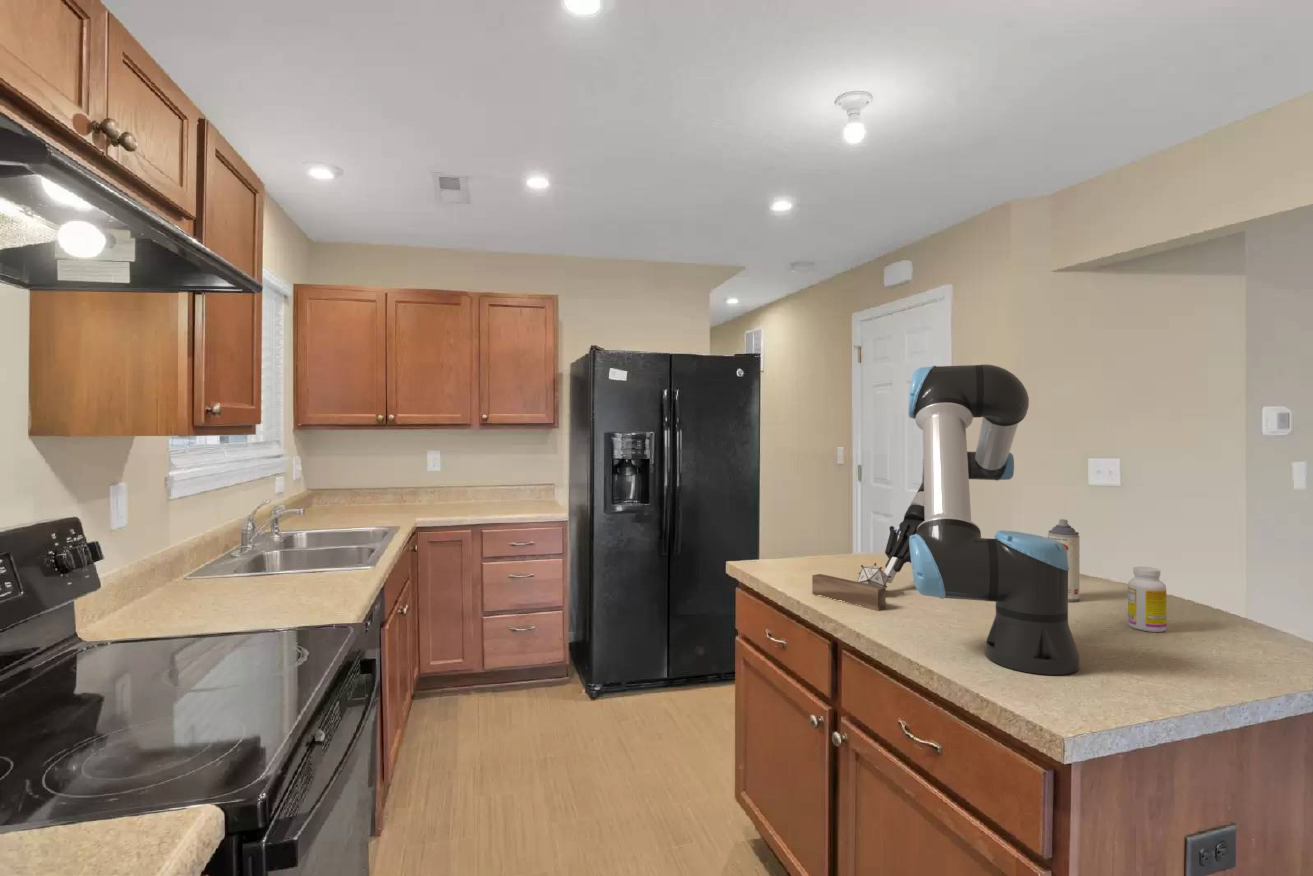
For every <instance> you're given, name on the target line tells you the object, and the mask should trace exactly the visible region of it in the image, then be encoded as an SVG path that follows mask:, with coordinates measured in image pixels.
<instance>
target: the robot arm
mask: <svg viewBox="0 0 1313 876" xmlns="http://www.w3.org/2000/svg"><path fill="white" fill-rule="evenodd" d="M910 382H911V384H910V389H909V390H910V391H909V400H908V417H909V418H910V419H914V420H915V424H916V426H917V427H918V428H919V429H920V430H922V446H923V447H922V448H923V449H922V450H923V451H922V453H923V455H922V457H923V458H922V480H921V484H920V486H919V488H918V490H917V492H916V494H915V495H914V497H913V498H912V500H911V502H910V505H909V506H908V508H907V510H906V512H905V513H904V515H903V519H902V521H901V522H900V523H899V524H898V525H897V526H893V525H891V526H889V536H888V539H887V543H886V546H885V550H884V553H885V555H886V556H887V558H888V559H887V561H886V563H885V570H884V571H883V572H884V573H885V574H886V575H887V576H892V577H891V578H888V580H887V583H888V584H892V583H893V581H894V579H895V577H896V575H897V573H900V572H901V570H902V568H903V567H904V565H905V564H906V563H910V564H911V572H912V577H913V582H914V586H915V589H916V591H917V592H918V593H919V594H920V595H922V596H925V597H926V596H927V597H933V598H939V599H943V600H944V599H954V600H955V599H956V600H969V601H980V602H981V601H982V602H983V601H985V602H995V616H994V619H993V622H992V624H991V627H990V630H989V632H988V635H987V637H986V641H985V645H984V646H985V647H984V648H985V649H984V650H985V652H984V654H985V656H986V658H987V659H988V660H990V661H991V662H993V663H995V664H996V665H999V666H1001V667H1002V666H1003V667H1005V668H1007V669H1012V670H1014V671H1019V672H1023V673H1024V672H1025V673H1030V674H1035V675H1036V674H1038V675H1048V676H1050V675H1051V676H1052V675H1053V676H1055V675H1056V676H1061V675H1069V674H1073V673H1077V672H1078V671H1079V670H1080V653H1079V650H1078V648H1077V645H1076V643H1075V642H1076V641H1075V639H1074V636H1073V634H1072V631H1071V629H1070V628H1071V627H1070V625H1069V602H1068V571H1069V566H1068V555H1067V549H1066V547H1065V546H1064V545H1063V544H1062V543H1060V542H1058V541H1056V540H1053V539H1050V538H1048V537H1045V536H1041V535H1037V534H1032V533H1025V532H1020V531H1015V530H1014V531H1012V530H1008V531H1007V530H998V531H996V533H995V534H994V538H988V537H987V538H986V537H985V538H984V537H982V534H981V533H982V531H981V528H980V527H979V526H978V524H976V523H975V522H973V521H972V512H971V511H972V509H971V493H970V492H971V491H970V480H981V481H983V480H984V481H985V480H986V481H997V482H998V481H1003V480H1004V481H1005V480H1006V481H1007V480H1010V479H1012V478H1013V477H1014V472H1015V459H1014V454H1013V453H1012V452H1010V451H1011V448H1012V445H1013V442H1014V438H1015V435H1016V432H1017V430H1018V429H1017V428H1018V426H1019V424H1020V423H1021V422H1022V421H1023V420H1024V419H1025V417H1026V415H1027V413H1028V409H1029V405H1030V403H1029V402H1030V398H1029V394H1028V391H1027V389H1026V388H1025V386H1024V384H1023V382H1022V381H1021V379H1019V378H1018V377H1017V376H1016V375H1015V374H1014V373H1012V372H1011V371H1009V370H1007V369H1006V368H1003V367H1001V366H998V365H993V364H973V365H972V364H968V365H944V366H943V365H941V366H940V365H939V366H937V365H932V366H925V367H924V366H923V367H918V368H917V369H915V370H914V372H913V374H912V378H911V381H910ZM974 418H982V421H981V426H980V428H979V429H980V430H979V434H978V440H977V446H976V450H975V451H968V447H967V446H968V445H967V442H968V441H967V429H968V428H969V427H970V426H971V425H972V423H973V420H974ZM887 583H886V584H887Z"/></svg>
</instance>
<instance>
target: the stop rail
mask: <svg viewBox="0 0 1313 876" xmlns="http://www.w3.org/2000/svg"><path fill="white" fill-rule="evenodd" d="M811 581H812V586H811V587H812V589H811V590H812V595H813V594H815V595H814V596H817V595H822V596H825V597H829V598H832V599H831V600H833V599H836V600H835V601H837V600H842V601H845V602H849V603H851V604H850V605H853V604H857V605H861V606H863V607H862V608H865V607H866V609H869V608H870V609H869V610H873V609H875V610H874V611H877V610H879V611H882V610H881V609H883V610H885V609H887V607H886V604H887V603H886V602H887V601H886V600H887V599H886V596H887V595H886V594H887V593H886V591H887V590H886V589H887V588H886V587H885V588H884V587H879V586H874V585H870V584H865V583H860V582H857V580H856V581H855V580H850V579H846V578H842V577H837V576H832V575H828V574H822V573H818V574H817V573H816V574H812V580H811ZM825 597H824V598H825ZM829 598H828V599H829ZM845 602H844V603H845ZM849 603H848V604H849ZM857 605H856V606H857ZM861 606H860V607H861Z"/></svg>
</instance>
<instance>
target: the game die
mask: <svg viewBox="0 0 1313 876" xmlns="http://www.w3.org/2000/svg"><path fill="white" fill-rule="evenodd" d="M860 567H861V570H860V572H858V575H859V576H858V578H857V580H856V582H860V583H865V584H870V585H874V586H879V587H884V588H886V589H887V588H888V586H887V580H888V578H891V577H892V576H887V575H886V574H885V573H884V571H883V567H882V566H880V567H878V566H877V563H876V562H875V563H874V565H869V566H868V565H867V566H864V565H863V564H860Z"/></svg>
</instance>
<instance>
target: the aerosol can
mask: <svg viewBox="0 0 1313 876" xmlns="http://www.w3.org/2000/svg"><path fill="white" fill-rule="evenodd" d="M1068 522H1069V521H1068V519H1063V518H1062V519H1059V522H1058V523H1057V524H1056V525H1055V526H1053V527H1052V529H1050V530H1048V534H1047V538H1050V539H1053V540H1056V541H1058V542H1060V543H1062V544H1063V545H1064V546H1065V547H1066V549H1067V555H1068V566H1069V571H1068V603H1078V601H1079V602H1080V535H1079V532H1077V531H1076V530H1075V528H1073V527H1072V526H1071V525H1070V524H1069V523H1068Z"/></svg>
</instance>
